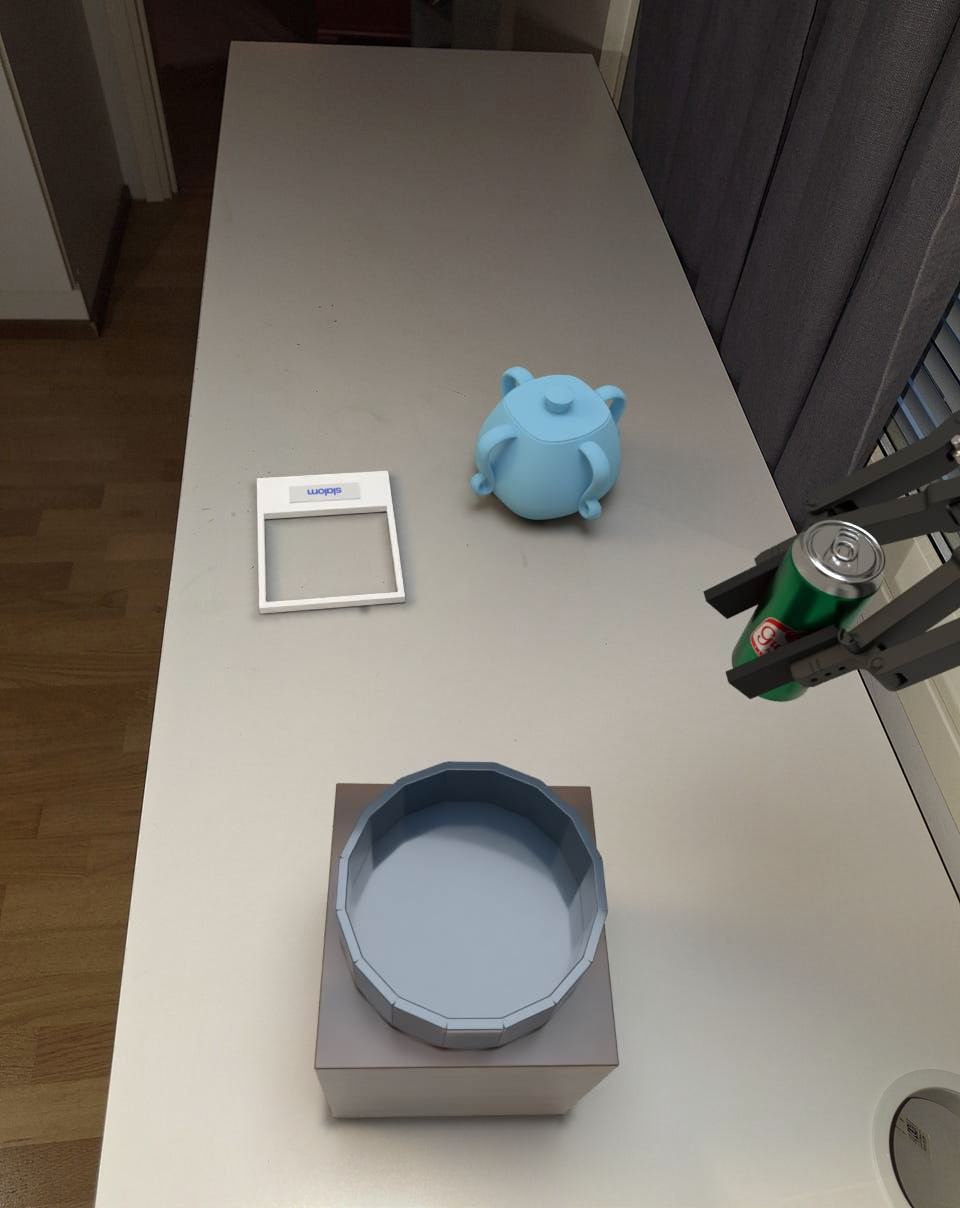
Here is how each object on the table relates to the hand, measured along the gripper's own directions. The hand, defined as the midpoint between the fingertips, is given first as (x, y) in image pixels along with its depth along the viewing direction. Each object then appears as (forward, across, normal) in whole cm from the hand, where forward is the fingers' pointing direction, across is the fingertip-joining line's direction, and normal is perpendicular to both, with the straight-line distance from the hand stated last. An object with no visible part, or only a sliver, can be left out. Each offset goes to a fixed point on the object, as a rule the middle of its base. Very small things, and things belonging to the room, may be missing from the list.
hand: (726, 644), depth 54 cm
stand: (+34, -11, -12) cm, 37 cm away
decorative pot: (+24, +44, -21) cm, 54 cm away
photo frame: (+41, +35, -4) cm, 54 cm away
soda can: (0, 0, -5) cm, 5 cm away
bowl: (+19, -11, +3) cm, 23 cm away
